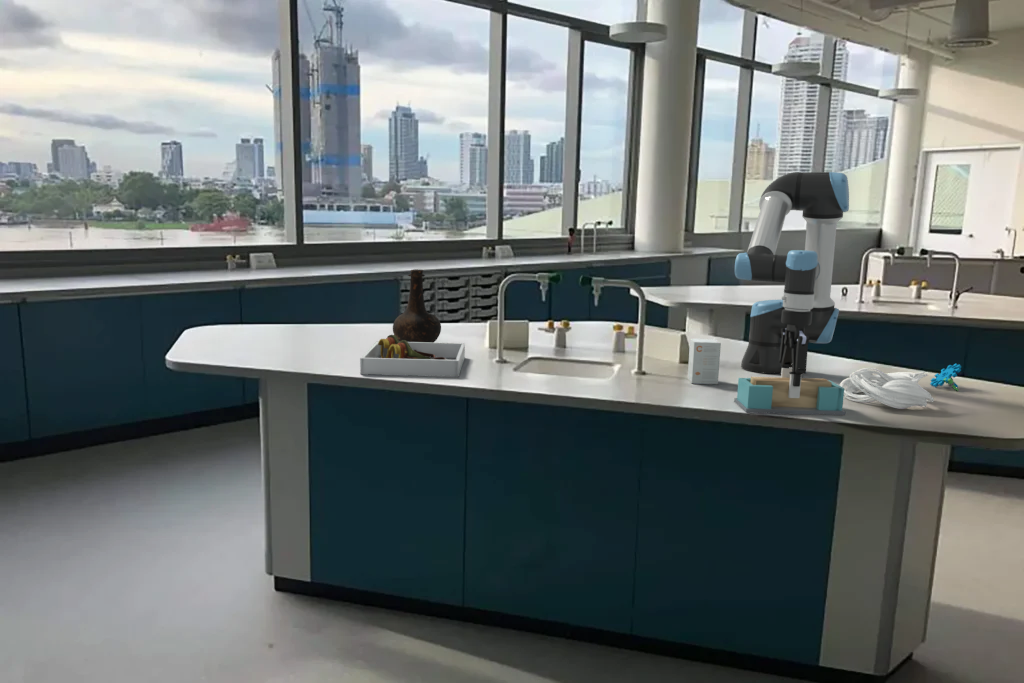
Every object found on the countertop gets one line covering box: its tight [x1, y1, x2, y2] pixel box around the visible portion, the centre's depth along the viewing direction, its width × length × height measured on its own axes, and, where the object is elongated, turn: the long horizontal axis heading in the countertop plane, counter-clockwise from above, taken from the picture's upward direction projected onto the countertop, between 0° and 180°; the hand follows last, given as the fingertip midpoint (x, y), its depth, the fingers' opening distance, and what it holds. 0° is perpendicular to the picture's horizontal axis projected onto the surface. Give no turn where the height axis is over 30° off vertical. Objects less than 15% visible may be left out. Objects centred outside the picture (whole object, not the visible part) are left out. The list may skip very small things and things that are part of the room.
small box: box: [687, 338, 722, 385], centre depth 231 cm, size 8×6×13 cm
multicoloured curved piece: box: [378, 334, 448, 360], centre depth 244 cm, size 24×24×10 cm
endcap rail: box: [733, 377, 846, 416], centre depth 203 cm, size 11×26×7 cm, turn 90°
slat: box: [750, 376, 833, 408], centre depth 203 cm, size 4×20×7 cm, turn 89°
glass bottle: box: [392, 268, 442, 343], centre depth 277 cm, size 18×18×28 cm
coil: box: [839, 367, 935, 410], centre depth 213 cm, size 25×24×9 cm
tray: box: [359, 340, 466, 378], centre depth 244 cm, size 29×30×5 cm
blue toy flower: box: [929, 363, 962, 392], centre depth 232 cm, size 11×6×10 cm
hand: (789, 394), depth 203 cm, fingers open, 6 cm apart
